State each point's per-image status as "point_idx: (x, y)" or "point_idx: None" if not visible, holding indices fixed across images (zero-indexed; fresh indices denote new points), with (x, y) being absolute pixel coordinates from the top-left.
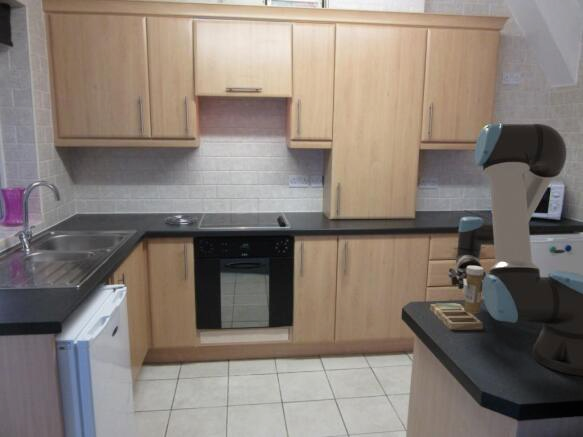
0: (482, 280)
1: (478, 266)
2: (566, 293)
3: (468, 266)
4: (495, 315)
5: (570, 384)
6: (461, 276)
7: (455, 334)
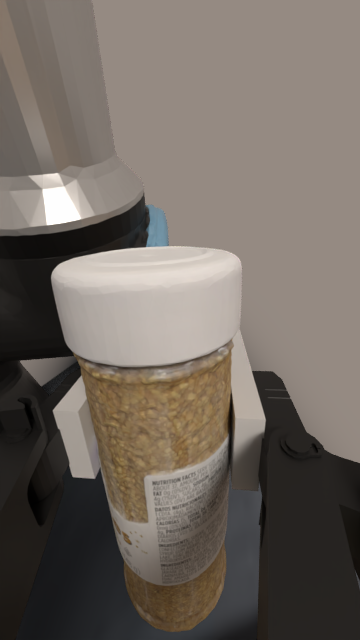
0: (73, 407)
1: (91, 261)
2: None
3: (223, 255)
4: None
5: (61, 378)
6: (323, 543)
7: (251, 587)
